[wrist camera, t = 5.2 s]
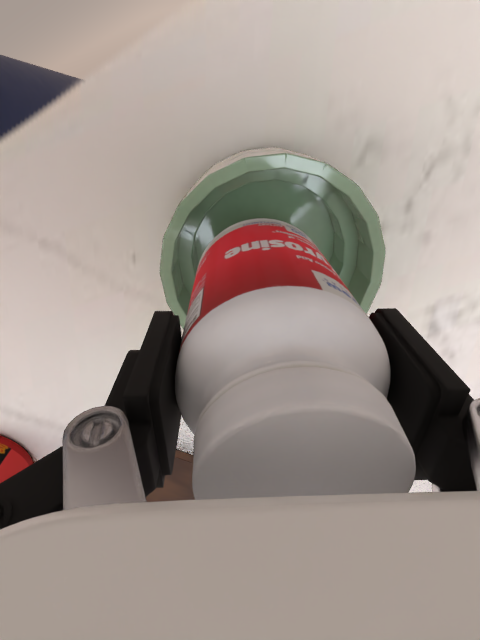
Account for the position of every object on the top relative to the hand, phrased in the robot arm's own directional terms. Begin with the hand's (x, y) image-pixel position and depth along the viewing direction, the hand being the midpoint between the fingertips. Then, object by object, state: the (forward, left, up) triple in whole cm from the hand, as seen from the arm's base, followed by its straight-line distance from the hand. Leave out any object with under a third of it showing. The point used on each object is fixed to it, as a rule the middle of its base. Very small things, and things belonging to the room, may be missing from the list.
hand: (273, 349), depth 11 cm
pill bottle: (0, 0, -6) cm, 6 cm away
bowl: (+1, 0, -11) cm, 11 cm away
